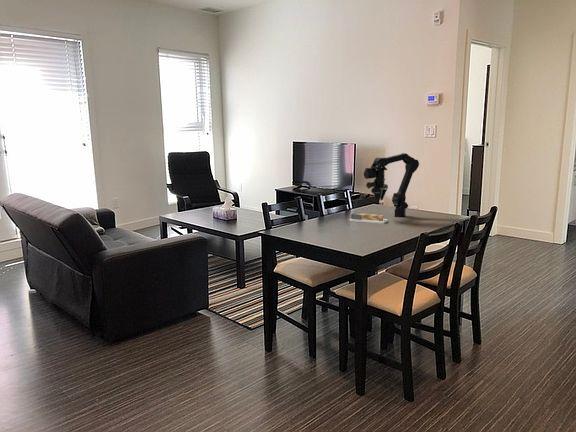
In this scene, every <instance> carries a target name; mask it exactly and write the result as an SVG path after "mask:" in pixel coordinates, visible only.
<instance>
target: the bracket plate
mask: <svg viewBox="0 0 576 432" xmlns="http://www.w3.org/2000/svg"><path fill="white" fill-rule="evenodd" d="M355 213H356V212H353V213H351V214H350V218H349V222H356V223H358V222H359V223H368V224H378V225H379V224H380V225H385V224H386V222H388V219H386V218H383V220H382V221H374V220H363V219H361V215H356V214H355ZM361 213H362V214H365V213H363V212H361Z"/></svg>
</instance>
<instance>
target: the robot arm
mask: <svg viewBox="0 0 576 432" xmlns="http://www.w3.org/2000/svg"><path fill="white" fill-rule="evenodd" d="M400 161H402V162H403V163H404V164H405V166H404V167H405V168H404V169H405V172H404V175H403V177H402V180H401V182H400V185H399V188H398V190H397V192H394V193H393V195H392V197H391V202H392V204H393V207H395V209H394V218H406V217H407V209H408V208H409V204H408V203H407V202H406V198H407V197H406V193H407V190H408V187H409V185H410V182H411V180H412V178H413V174H414V173H415V172H416V171H417V170H418V168H419V166H420V160H419V159H415V158H414V157H413V156H411V155H409V154H408V153H404V152H402V153H400V154H399V153H398V154H396V155H391V156H388V157H386V156H385V157H375V158H374V160H373V163H372V164H371V166H370V167H366V168H364V171H363V177H364V179H366V180H367V179H369V180H370V179H373V181H371V182H370V181H368V182H366V185H365V187H366V188H367V189H371V190H370V191H371V194H373V195H374V196H375V197H374V198H375V199H376V202H377V203H380V201H383V199H384V198H385V195H386V193H387V191H388V188H389V186H388V184H387V183H385V181H386V178H385V171H388V168H387V167H386V166H388V165H390V164H393V163H396V162H400Z"/></svg>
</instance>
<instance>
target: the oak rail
mask: <svg viewBox="0 0 576 432" xmlns="http://www.w3.org/2000/svg"><path fill="white" fill-rule="evenodd" d="M354 213H355V214H356V215H361V219H363V220H374V221H382V220H383V219H384V215H383V214H374V213H373V214H371V213H364V214H362V213H363V212H354Z"/></svg>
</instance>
